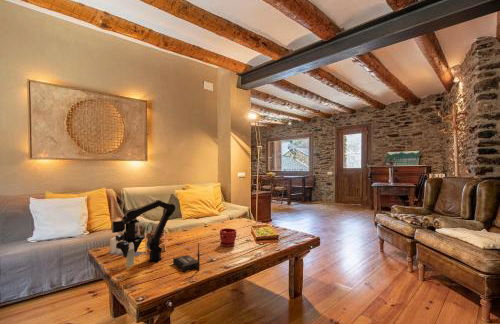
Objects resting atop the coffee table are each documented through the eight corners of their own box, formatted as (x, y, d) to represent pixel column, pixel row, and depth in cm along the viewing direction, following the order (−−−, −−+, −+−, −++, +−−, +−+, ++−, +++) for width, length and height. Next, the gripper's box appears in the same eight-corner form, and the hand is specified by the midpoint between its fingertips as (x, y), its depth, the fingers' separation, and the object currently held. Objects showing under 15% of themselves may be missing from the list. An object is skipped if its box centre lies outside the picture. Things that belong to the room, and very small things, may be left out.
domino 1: (122, 251, 183) (122, 237, 183) (117, 253, 178) (117, 239, 178) (120, 251, 183) (121, 237, 183) (115, 253, 178) (115, 239, 178)
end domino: (116, 250, 184) (116, 237, 184) (111, 253, 179) (111, 239, 179) (115, 250, 184) (115, 237, 184) (109, 253, 179) (109, 239, 179)
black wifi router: (170, 265, 161) (170, 238, 161) (190, 259, 170) (190, 234, 170) (184, 276, 146) (184, 246, 146) (205, 269, 154) (205, 241, 155)
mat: (144, 253, 181) (144, 252, 181) (136, 257, 173) (136, 256, 173) (114, 250, 187) (114, 249, 187) (105, 254, 178) (105, 253, 178)
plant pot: (228, 248, 191) (228, 233, 191) (216, 245, 199) (216, 230, 199) (239, 244, 201) (239, 229, 201) (227, 241, 209) (227, 227, 209)
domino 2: (134, 252, 181) (134, 238, 181) (129, 254, 176) (129, 240, 176) (132, 252, 181) (133, 238, 181) (128, 254, 176) (128, 240, 176)
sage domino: (133, 264, 160) (133, 249, 161) (128, 267, 156) (128, 251, 156) (131, 264, 161) (132, 248, 161) (126, 267, 156) (126, 251, 156)
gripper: (129, 225, 169) (129, 248, 169) (108, 233, 151) (108, 259, 151) (144, 226, 167) (144, 250, 167) (124, 234, 149) (124, 260, 149)
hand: (130, 254), depth 158 cm, fingers open, 9 cm apart
